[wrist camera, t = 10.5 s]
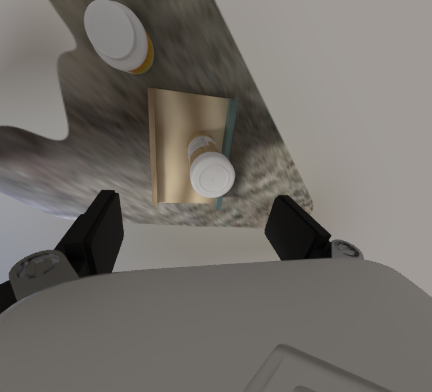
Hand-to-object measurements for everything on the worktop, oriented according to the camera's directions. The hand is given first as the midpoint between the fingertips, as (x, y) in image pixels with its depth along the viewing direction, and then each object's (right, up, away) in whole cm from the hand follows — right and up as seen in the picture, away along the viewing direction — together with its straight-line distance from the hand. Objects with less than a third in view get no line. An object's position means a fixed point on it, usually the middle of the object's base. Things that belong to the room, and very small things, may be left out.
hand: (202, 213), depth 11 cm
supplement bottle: (-10, +20, +13) cm, 26 cm away
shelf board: (-4, +9, +21) cm, 23 cm away
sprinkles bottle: (-2, +9, +19) cm, 21 cm away
